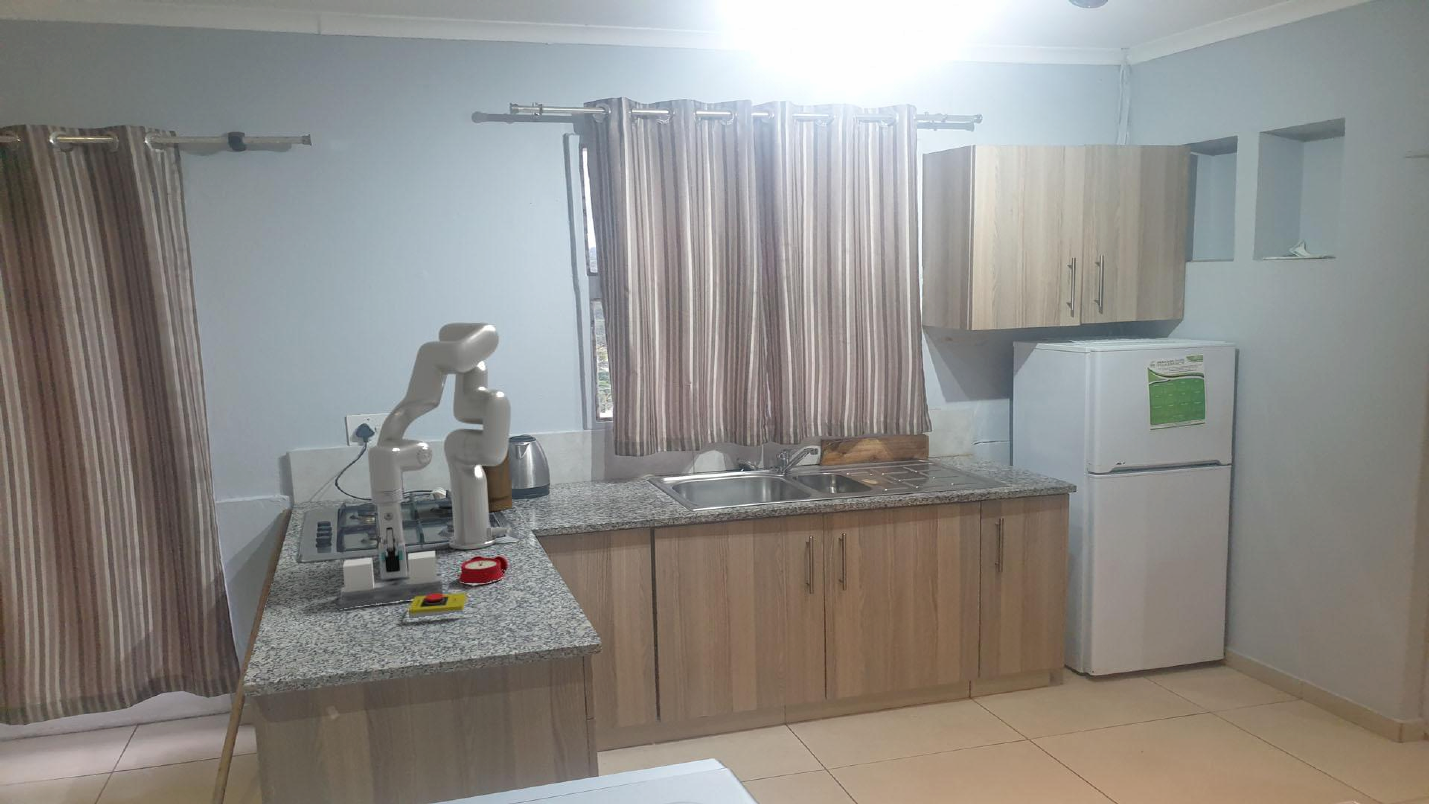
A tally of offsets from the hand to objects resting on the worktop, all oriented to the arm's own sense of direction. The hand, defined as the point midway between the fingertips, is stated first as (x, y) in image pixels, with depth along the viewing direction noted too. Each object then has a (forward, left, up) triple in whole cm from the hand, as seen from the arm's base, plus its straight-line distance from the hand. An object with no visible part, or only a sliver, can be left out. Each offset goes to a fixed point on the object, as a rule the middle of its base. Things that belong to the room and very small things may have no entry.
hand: (393, 567), depth 238 cm
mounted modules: (0, +15, 0) cm, 15 cm away
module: (0, 0, -2) cm, 2 cm away
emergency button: (-10, +32, -3) cm, 34 cm away
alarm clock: (-21, +10, -2) cm, 23 cm away
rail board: (0, +15, -2) cm, 15 cm away
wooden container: (-27, -62, -2) cm, 68 cm away
